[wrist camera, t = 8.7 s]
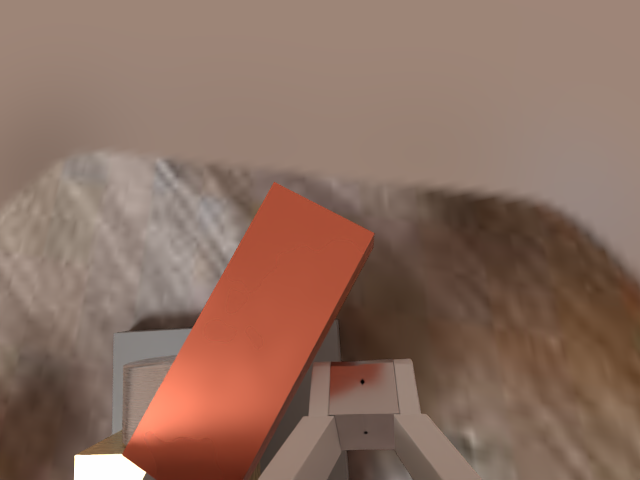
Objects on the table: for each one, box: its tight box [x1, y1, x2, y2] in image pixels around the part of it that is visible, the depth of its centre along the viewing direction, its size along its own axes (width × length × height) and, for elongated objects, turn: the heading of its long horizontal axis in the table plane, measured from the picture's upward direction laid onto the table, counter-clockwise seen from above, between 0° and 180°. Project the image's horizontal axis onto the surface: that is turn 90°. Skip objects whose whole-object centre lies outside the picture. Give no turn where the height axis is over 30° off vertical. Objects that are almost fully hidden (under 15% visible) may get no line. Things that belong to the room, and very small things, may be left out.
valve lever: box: [122, 182, 375, 480], centre depth 11 cm, size 16×3×3 cm, turn 151°
